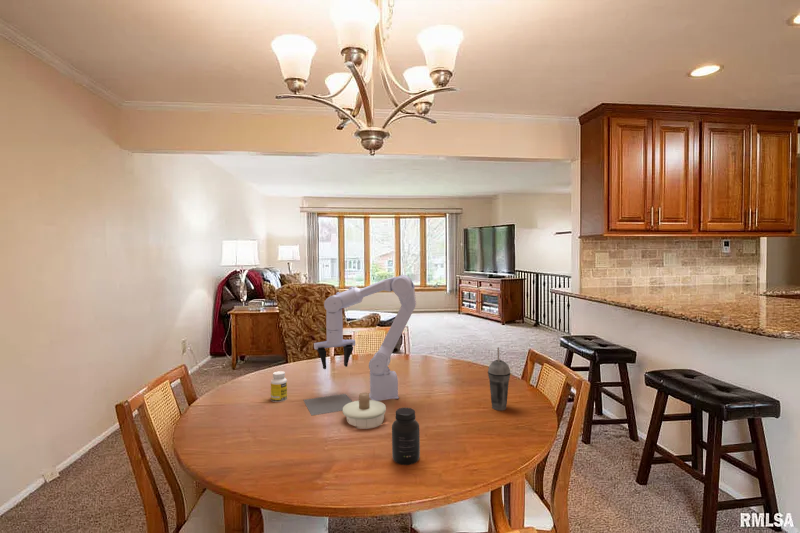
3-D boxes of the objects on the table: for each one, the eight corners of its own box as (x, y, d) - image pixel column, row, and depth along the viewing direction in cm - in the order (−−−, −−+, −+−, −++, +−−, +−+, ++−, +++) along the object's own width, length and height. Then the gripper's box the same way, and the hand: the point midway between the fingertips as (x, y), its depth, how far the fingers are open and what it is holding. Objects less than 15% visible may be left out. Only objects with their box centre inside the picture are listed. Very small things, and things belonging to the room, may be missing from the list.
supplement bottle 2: (391, 452, 104) (390, 406, 104) (418, 451, 105) (417, 405, 105) (393, 466, 97) (392, 416, 97) (421, 465, 98) (421, 415, 98)
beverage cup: (512, 405, 135) (512, 345, 135) (508, 413, 129) (508, 350, 128) (490, 402, 138) (490, 343, 138) (485, 410, 132) (485, 348, 131)
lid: (364, 400, 134) (364, 384, 134) (394, 409, 125) (394, 393, 125) (333, 411, 124) (333, 395, 124) (363, 423, 115) (363, 405, 115)
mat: (345, 395, 147) (345, 393, 147) (357, 409, 133) (357, 407, 133) (303, 401, 141) (303, 399, 141) (311, 417, 128) (311, 415, 127)
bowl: (376, 411, 132) (376, 402, 131) (389, 424, 121) (388, 414, 121) (343, 417, 127) (342, 407, 127) (353, 431, 117) (353, 420, 117)
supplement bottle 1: (282, 404, 139) (282, 375, 139) (268, 403, 140) (267, 374, 140) (290, 398, 145) (289, 370, 144) (275, 397, 146) (275, 370, 145)
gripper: (351, 325, 152) (351, 362, 152) (311, 329, 146) (312, 366, 147) (356, 329, 145) (357, 367, 146) (315, 332, 140) (316, 372, 140)
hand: (335, 367), depth 146 cm, fingers open, 7 cm apart
